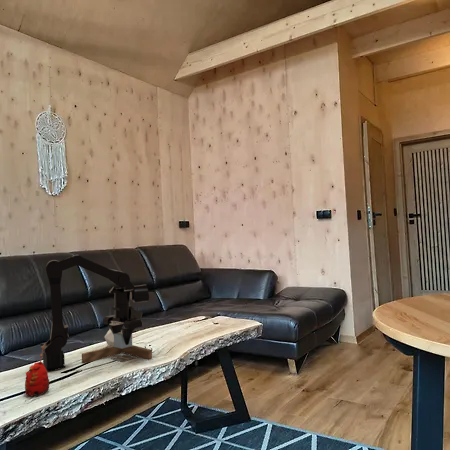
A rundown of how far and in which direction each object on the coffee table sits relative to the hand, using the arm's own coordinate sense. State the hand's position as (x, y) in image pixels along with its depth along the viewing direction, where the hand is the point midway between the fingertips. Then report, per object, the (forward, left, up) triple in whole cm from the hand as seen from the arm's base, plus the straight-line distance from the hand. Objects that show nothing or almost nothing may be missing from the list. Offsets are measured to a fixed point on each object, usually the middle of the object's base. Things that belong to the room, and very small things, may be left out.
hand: (123, 343), depth 164 cm
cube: (0, 0, -1) cm, 1 cm away
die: (+9, +19, -6) cm, 22 cm away
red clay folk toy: (-38, -9, -6) cm, 39 cm away
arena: (-3, -1, -6) cm, 7 cm away
